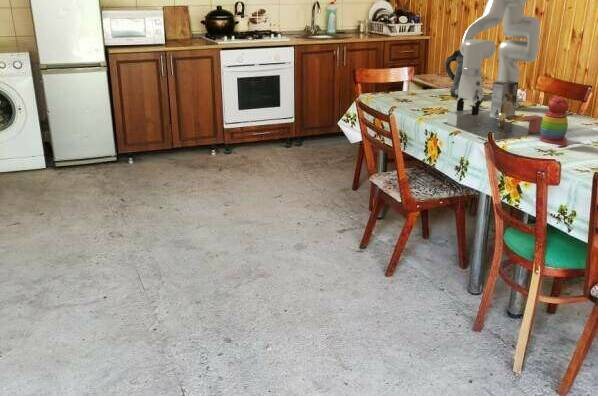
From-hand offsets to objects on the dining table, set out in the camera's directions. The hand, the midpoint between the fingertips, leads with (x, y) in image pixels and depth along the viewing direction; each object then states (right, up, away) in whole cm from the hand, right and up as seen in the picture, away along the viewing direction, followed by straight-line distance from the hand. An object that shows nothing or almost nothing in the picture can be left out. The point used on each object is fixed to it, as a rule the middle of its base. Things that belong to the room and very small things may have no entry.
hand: (467, 112), depth 247 cm
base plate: (+8, -8, -5) cm, 13 cm away
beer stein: (+15, +17, +60) cm, 64 cm away
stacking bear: (+26, -16, -24) cm, 39 cm away
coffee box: (+20, 0, +15) cm, 25 cm away
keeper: (+20, -10, -13) cm, 26 cm away
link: (+1, -4, +2) cm, 5 cm away
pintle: (+13, -6, -3) cm, 15 cm away
